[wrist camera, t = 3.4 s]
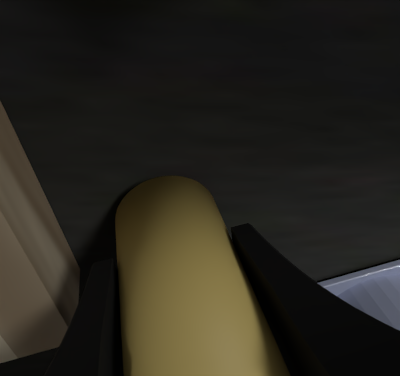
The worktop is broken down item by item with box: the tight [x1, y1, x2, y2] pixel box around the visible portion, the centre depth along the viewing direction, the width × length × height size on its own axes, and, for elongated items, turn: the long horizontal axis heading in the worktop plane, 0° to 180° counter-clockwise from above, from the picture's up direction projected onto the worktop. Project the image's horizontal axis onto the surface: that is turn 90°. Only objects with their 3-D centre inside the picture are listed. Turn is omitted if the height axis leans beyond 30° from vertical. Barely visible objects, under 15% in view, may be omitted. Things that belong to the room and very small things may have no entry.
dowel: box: [115, 176, 291, 376], centre depth 12 cm, size 4×4×8 cm
